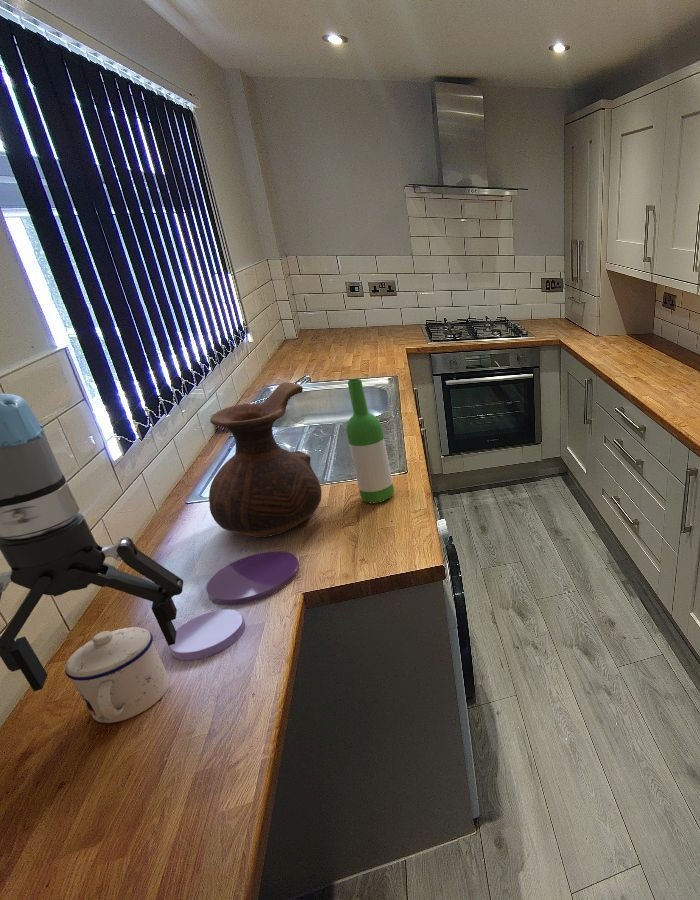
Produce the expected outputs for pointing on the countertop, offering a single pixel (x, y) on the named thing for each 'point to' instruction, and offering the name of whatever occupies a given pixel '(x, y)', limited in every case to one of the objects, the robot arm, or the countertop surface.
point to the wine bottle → (368, 449)
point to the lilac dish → (207, 634)
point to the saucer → (252, 577)
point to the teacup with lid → (118, 674)
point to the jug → (262, 472)
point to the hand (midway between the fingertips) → (110, 660)
